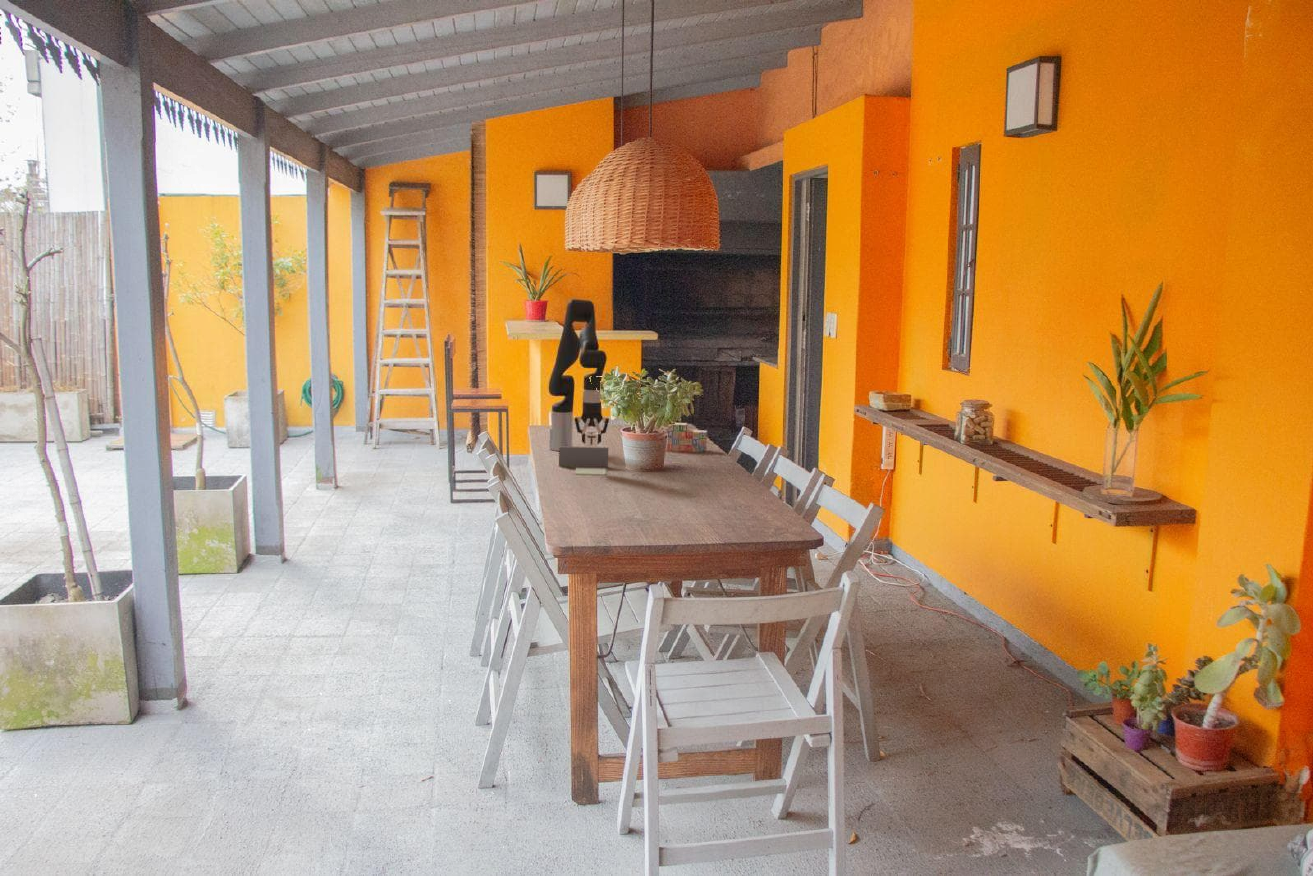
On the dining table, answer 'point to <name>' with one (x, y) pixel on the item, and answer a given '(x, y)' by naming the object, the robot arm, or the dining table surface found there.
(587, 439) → the marked cube
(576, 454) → the charcoal wall
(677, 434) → the stack of blocks
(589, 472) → the sage pad
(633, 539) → the dining table surface
